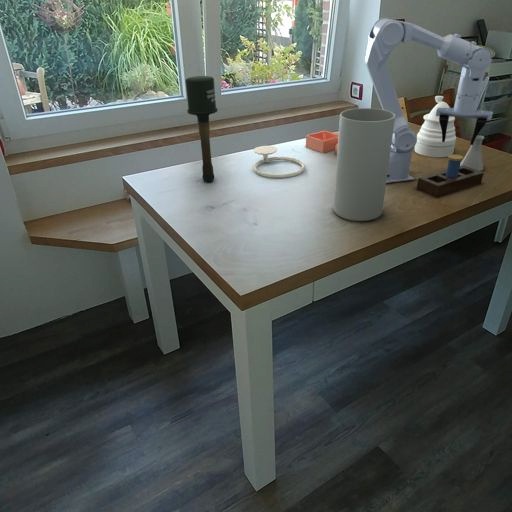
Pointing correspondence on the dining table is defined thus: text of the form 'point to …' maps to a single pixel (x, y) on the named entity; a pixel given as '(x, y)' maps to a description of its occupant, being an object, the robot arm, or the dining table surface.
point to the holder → (449, 182)
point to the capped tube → (453, 165)
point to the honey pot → (436, 134)
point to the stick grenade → (202, 115)
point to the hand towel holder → (270, 150)
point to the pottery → (322, 141)
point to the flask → (474, 155)
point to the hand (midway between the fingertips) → (457, 142)
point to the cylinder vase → (362, 162)
